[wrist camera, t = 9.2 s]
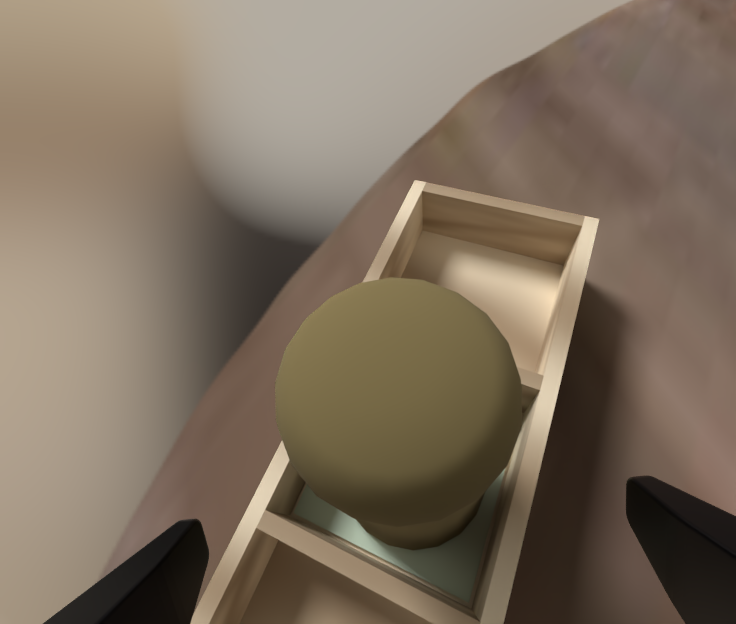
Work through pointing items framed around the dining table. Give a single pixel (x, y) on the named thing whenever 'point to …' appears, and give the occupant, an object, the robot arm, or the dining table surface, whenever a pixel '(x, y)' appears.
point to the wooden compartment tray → (501, 500)
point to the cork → (400, 408)
